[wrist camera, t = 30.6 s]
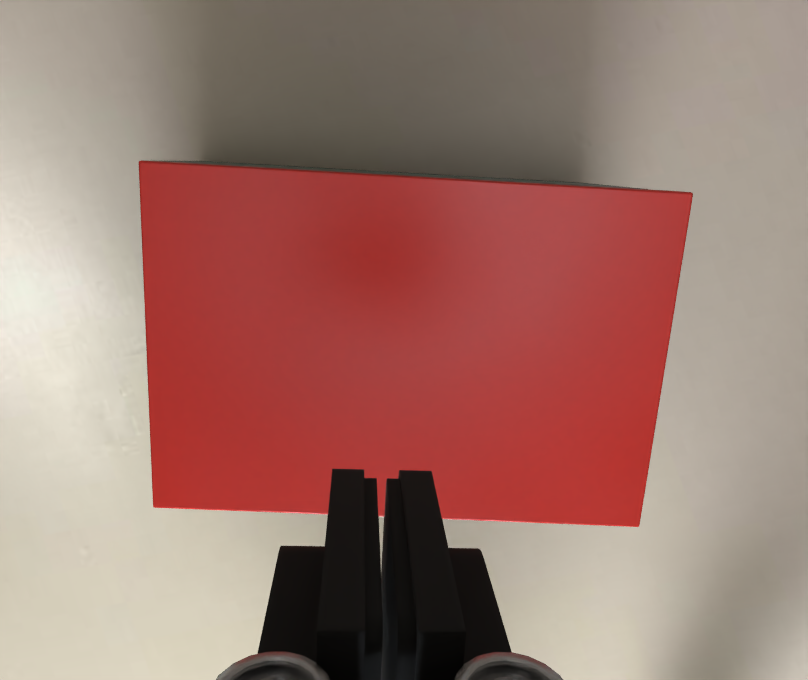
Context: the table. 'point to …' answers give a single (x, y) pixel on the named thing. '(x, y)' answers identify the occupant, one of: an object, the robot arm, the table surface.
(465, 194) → the lid
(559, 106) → the table surface
